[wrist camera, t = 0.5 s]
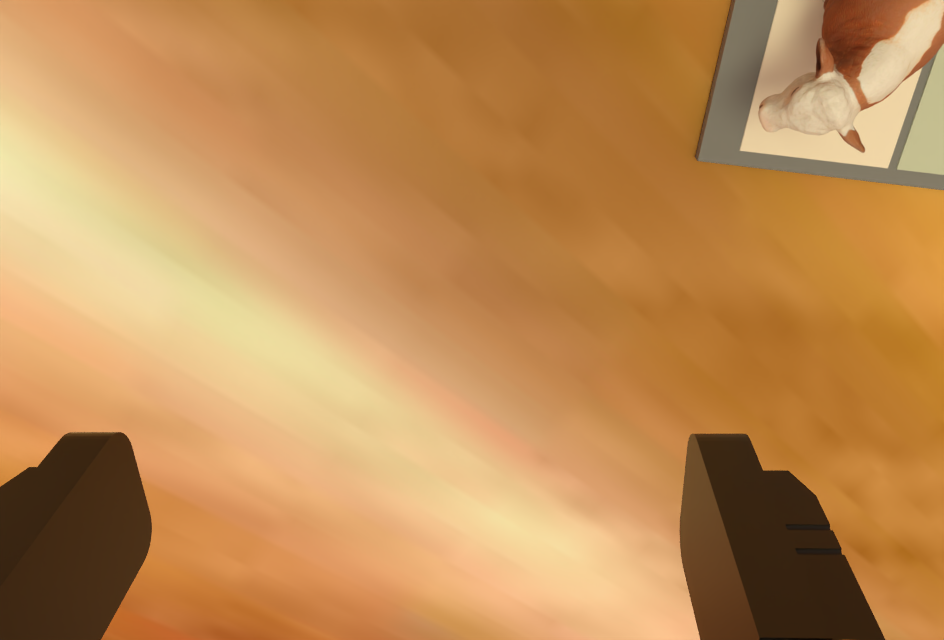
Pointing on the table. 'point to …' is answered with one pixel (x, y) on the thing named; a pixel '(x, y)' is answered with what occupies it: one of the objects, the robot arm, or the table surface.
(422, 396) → the table surface
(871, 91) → the bull figurine
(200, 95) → the table surface
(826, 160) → the game board
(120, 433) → the robot arm
